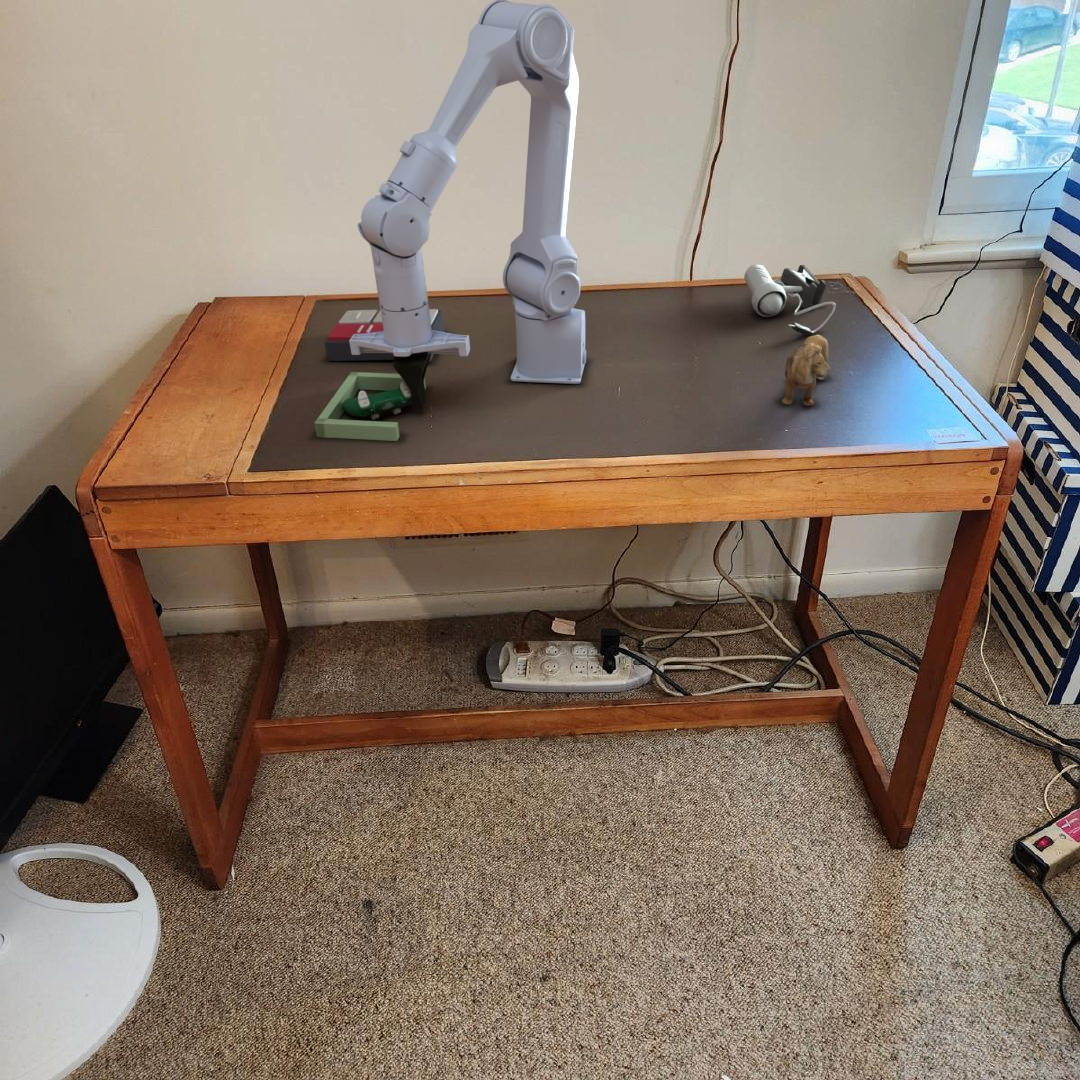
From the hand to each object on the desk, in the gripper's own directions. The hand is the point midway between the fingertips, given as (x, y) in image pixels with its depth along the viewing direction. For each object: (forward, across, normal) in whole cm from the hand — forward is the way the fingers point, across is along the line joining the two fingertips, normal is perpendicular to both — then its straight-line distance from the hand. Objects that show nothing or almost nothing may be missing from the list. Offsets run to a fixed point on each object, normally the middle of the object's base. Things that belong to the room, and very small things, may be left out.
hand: (418, 405), depth 114 cm
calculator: (+1, -10, +20) cm, 22 cm away
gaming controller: (+1, -5, 0) cm, 5 cm away
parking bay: (+1, -5, 0) cm, 5 cm away
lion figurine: (+2, +49, +9) cm, 50 cm away
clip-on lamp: (+3, +50, +36) cm, 61 cm away
